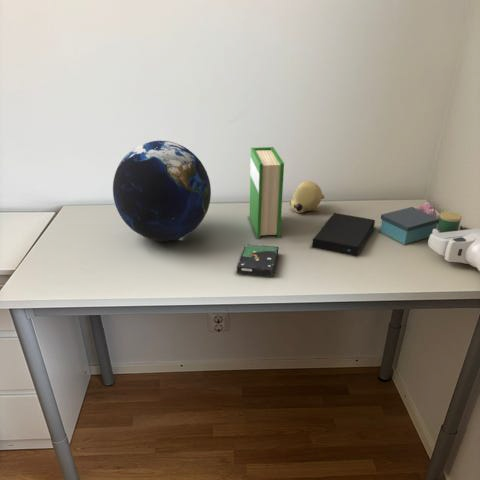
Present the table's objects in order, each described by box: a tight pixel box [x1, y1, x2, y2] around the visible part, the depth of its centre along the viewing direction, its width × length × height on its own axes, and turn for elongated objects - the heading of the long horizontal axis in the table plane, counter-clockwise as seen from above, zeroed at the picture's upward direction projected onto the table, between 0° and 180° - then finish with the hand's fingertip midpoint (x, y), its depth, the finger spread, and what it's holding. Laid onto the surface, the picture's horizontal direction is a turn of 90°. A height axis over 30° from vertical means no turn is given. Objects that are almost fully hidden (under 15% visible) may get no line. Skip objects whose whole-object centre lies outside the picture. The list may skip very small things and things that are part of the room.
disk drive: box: [236, 244, 280, 277], centre depth 150 cm, size 10×3×15 cm
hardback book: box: [249, 146, 285, 239], centre depth 167 cm, size 18×7×24 cm, turn 7°
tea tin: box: [436, 211, 463, 233], centre depth 160 cm, size 6×6×10 cm
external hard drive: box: [311, 212, 376, 257], centre depth 166 cm, size 14×23×3 cm, turn 155°
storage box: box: [379, 206, 440, 245], centre depth 168 cm, size 14×12×6 cm
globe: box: [112, 140, 212, 242], centre depth 158 cm, size 30×30×30 cm
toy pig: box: [289, 180, 326, 214], centre depth 183 cm, size 10×12×11 cm
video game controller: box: [415, 202, 437, 217], centre depth 177 cm, size 10×5×7 cm, turn 179°
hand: (448, 229), depth 159 cm, fingers open, 8 cm apart
